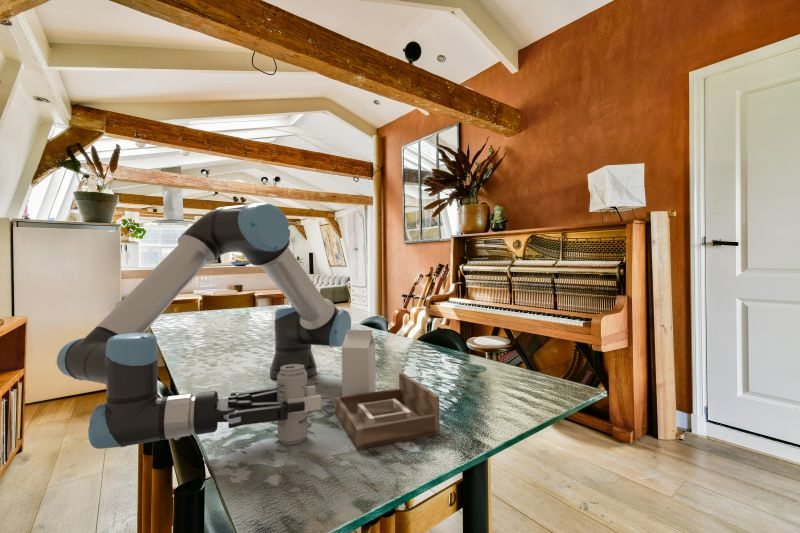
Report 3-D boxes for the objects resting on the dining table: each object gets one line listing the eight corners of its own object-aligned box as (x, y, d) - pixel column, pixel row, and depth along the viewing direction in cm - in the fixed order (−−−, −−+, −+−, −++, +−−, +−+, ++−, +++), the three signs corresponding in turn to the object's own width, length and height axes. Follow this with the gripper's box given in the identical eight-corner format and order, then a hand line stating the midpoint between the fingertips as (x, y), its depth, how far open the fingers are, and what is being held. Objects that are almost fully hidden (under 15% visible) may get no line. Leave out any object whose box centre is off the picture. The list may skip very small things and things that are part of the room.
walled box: (334, 413, 91) (334, 380, 91) (402, 403, 98) (402, 372, 98) (357, 450, 73) (357, 409, 73) (439, 434, 80) (439, 396, 80)
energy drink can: (307, 444, 76) (307, 369, 76) (276, 447, 74) (275, 371, 74) (307, 431, 82) (307, 362, 82) (278, 434, 80) (278, 364, 80)
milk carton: (368, 407, 96) (368, 332, 96) (342, 405, 97) (341, 331, 97) (375, 397, 103) (375, 328, 103) (351, 396, 104) (350, 327, 104)
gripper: (200, 415, 80) (310, 400, 89) (187, 456, 62) (326, 432, 71) (199, 380, 80) (310, 368, 89) (187, 411, 62) (326, 392, 71)
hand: (317, 397), depth 80 cm, fingers closed on energy drink can, 6 cm apart
